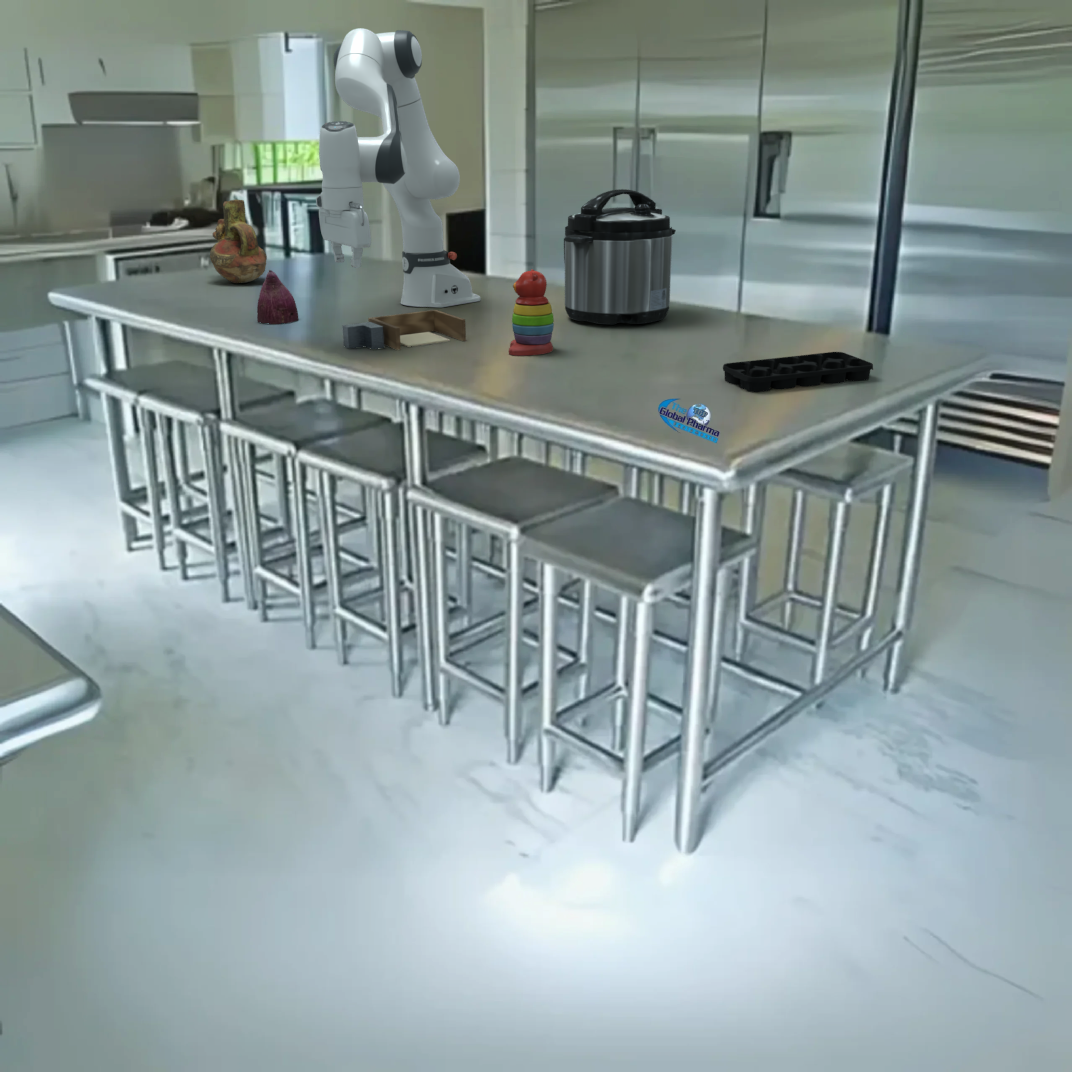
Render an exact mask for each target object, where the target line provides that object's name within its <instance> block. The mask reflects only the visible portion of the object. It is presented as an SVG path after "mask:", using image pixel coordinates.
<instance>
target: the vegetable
mask: <svg viewBox="0 0 1072 1072" xmlns="http://www.w3.org/2000/svg"><path fill="white" fill-rule="evenodd" d="M260 288H261V289H260V292H259V295H258V299H257V309H256V310H257V311H256V313H257V316H256V319H257V320H256V321H257V323H259V322H261V323H260V324H264V323H269V324H268V325H282V324H281V323H285V324H290V323H293V322H297V321H299V311H298V307H297V303H296V300H295V297H294V296H293V294H292V293H291V292H290V291H289V289H288V287H286V285H285V284H284V283H283V282H282V281H281V279H280V278H279V276H278V275H277V274H276V273H275V272H274V271H273V270H271V269H268V272H267V273H266V276H265V280H264V282H263V283H262V286H261V287H260Z"/></svg>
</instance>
